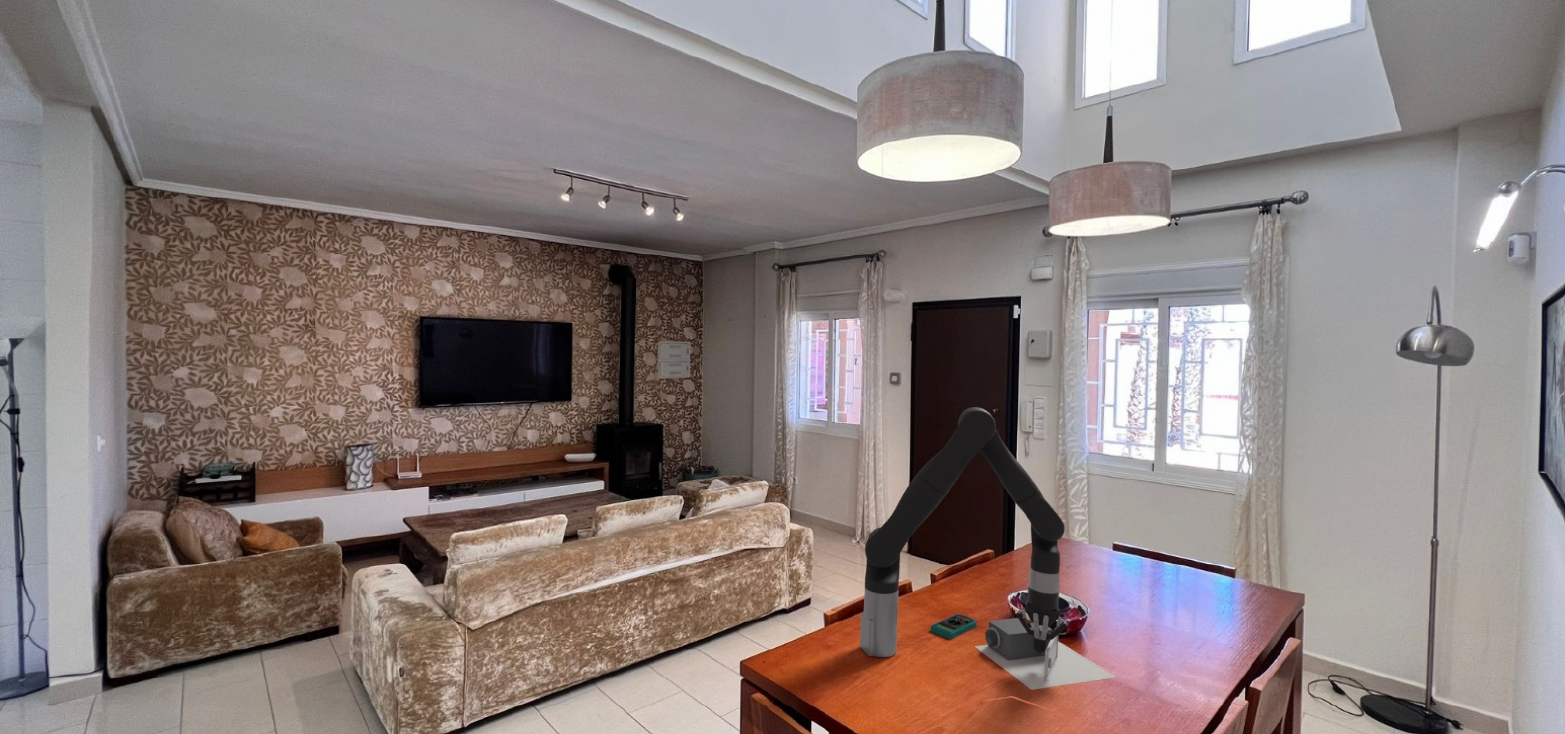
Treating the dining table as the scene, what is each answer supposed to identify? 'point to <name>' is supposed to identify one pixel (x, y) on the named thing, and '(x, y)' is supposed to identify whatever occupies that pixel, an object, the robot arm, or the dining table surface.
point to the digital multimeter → (953, 626)
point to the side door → (1051, 654)
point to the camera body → (1012, 639)
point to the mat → (1062, 672)
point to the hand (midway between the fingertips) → (1039, 651)
